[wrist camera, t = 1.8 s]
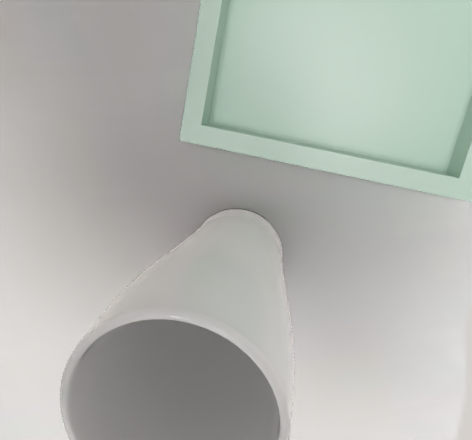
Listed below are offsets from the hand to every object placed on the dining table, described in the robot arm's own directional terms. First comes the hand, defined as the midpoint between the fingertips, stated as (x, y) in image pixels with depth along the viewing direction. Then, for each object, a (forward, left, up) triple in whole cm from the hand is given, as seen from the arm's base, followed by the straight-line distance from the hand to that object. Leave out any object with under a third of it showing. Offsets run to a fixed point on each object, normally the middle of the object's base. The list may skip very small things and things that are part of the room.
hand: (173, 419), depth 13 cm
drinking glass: (0, 0, -15) cm, 15 cm away
